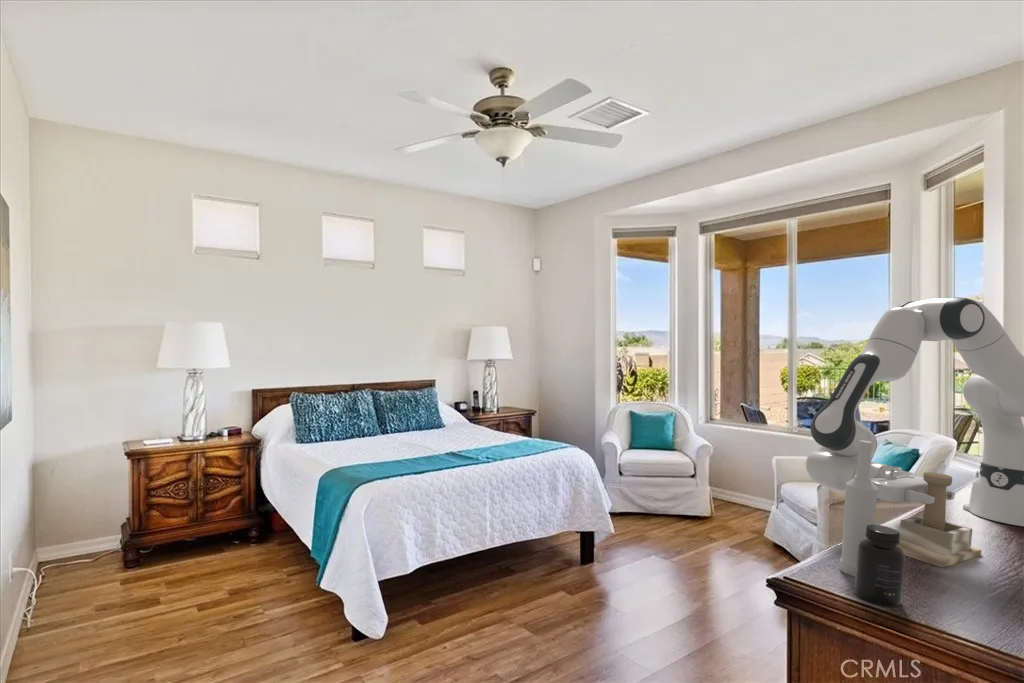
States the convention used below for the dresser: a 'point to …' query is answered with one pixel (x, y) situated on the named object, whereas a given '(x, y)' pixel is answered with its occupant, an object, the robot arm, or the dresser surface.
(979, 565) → the dresser surface
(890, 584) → the supplement bottle
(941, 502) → the handle
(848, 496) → the bottle
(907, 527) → the tool holder
